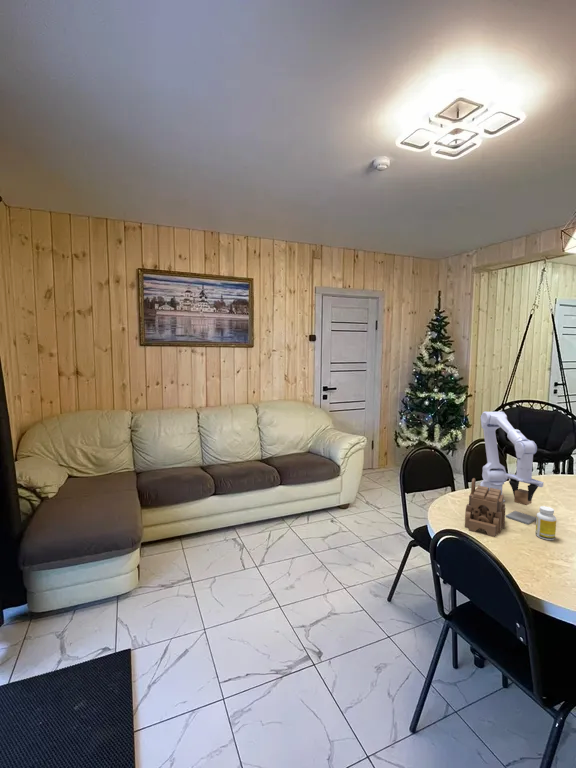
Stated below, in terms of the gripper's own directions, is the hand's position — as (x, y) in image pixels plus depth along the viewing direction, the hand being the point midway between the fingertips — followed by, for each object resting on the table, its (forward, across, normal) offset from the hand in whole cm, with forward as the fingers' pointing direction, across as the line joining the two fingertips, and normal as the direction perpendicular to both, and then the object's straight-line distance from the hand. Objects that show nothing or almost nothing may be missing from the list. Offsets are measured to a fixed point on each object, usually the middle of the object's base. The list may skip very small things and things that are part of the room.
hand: (522, 498), depth 166 cm
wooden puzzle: (+9, -7, -19) cm, 22 cm away
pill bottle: (+9, +13, -11) cm, 19 cm away
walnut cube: (+2, 0, 0) cm, 2 cm away
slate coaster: (+9, 0, 0) cm, 9 cm away
